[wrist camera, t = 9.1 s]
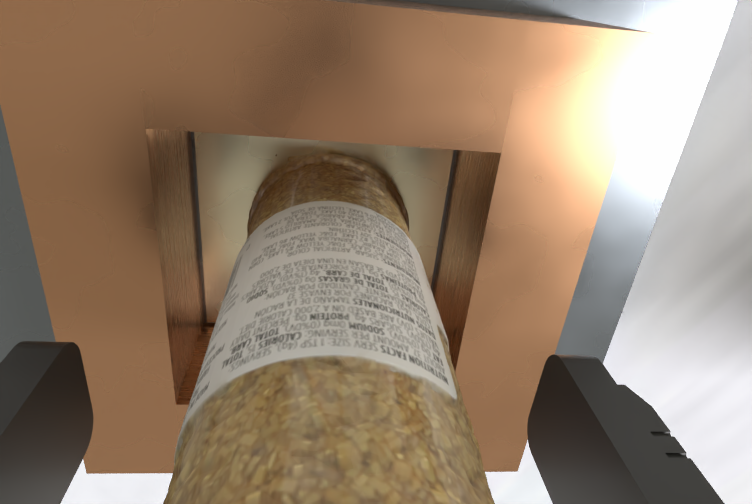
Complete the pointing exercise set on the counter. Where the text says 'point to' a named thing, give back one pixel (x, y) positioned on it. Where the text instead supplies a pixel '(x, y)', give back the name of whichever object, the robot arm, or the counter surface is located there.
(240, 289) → the spice jar
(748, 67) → the counter surface
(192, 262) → the collar deck
